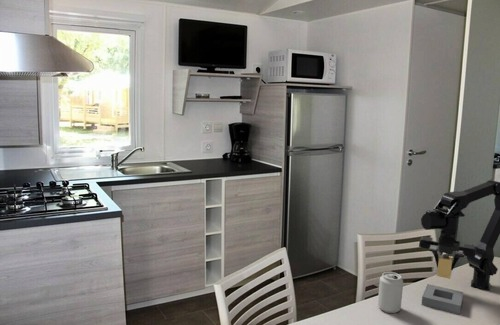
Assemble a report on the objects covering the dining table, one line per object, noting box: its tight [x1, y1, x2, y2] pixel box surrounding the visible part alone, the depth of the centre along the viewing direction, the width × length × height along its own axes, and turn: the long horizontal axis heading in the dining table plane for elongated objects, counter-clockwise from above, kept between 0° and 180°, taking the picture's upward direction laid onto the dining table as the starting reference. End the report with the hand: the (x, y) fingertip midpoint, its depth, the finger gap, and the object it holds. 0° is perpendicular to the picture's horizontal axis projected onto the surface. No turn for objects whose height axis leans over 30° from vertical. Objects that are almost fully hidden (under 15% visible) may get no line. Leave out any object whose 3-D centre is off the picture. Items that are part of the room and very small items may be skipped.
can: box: [377, 271, 404, 314], centre depth 148 cm, size 8×8×12 cm
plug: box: [436, 253, 454, 279], centre depth 163 cm, size 4×4×8 cm
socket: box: [421, 283, 464, 315], centre depth 155 cm, size 12×12×3 cm
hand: (444, 268), depth 163 cm, fingers closed on plug, 4 cm apart
